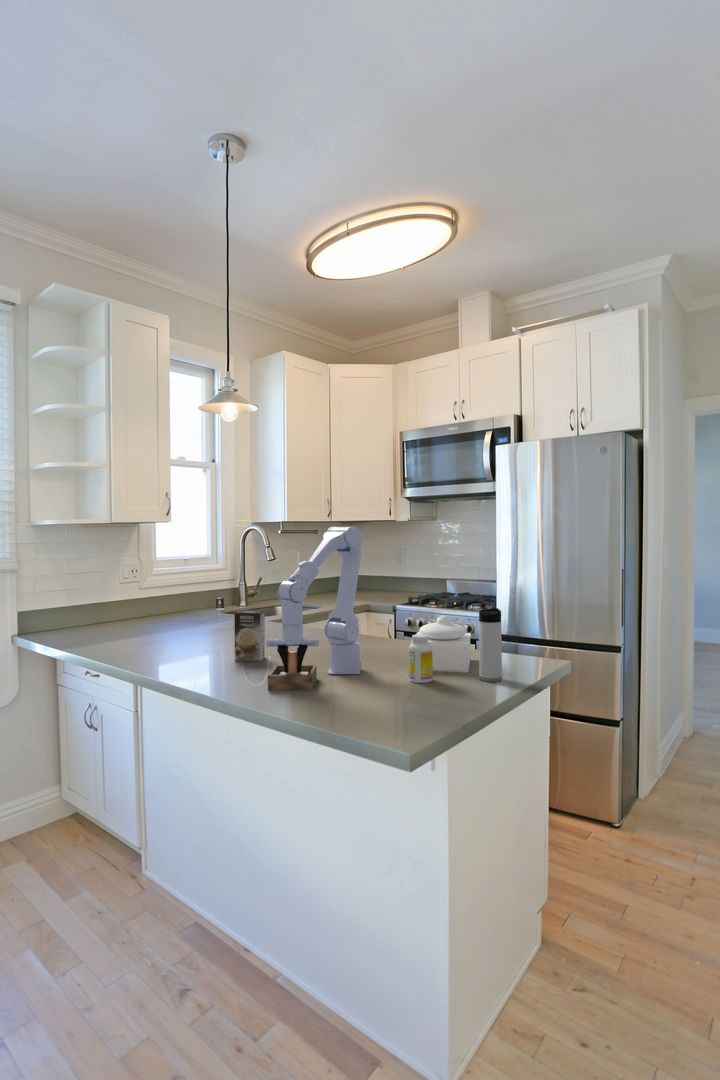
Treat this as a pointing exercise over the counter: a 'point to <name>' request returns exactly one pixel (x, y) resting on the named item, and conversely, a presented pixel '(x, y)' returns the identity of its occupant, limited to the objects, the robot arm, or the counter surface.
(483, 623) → the travel mug
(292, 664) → the peg
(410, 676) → the supplement bottle
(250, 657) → the coffee box
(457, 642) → the white lidded jar
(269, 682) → the peg box
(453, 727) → the counter surface
